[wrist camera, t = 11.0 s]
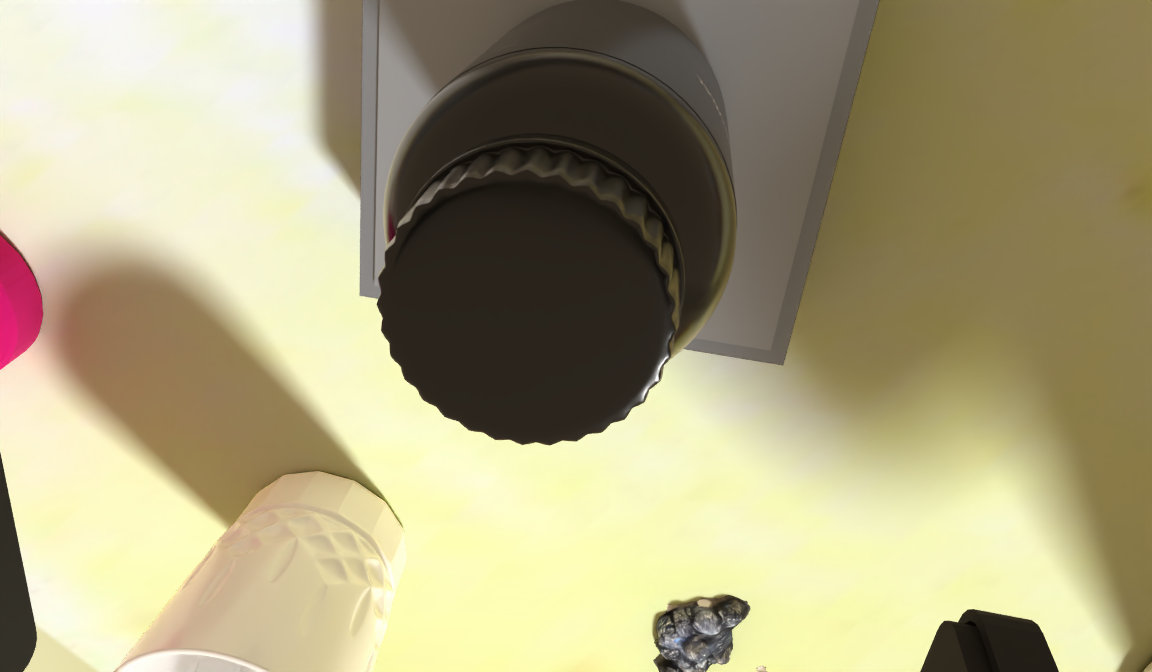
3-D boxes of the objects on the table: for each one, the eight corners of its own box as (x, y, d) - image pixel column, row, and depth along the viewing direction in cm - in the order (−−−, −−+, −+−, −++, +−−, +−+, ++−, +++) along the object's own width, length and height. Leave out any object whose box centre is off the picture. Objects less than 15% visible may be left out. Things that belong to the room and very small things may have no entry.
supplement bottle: (782, 110, 24) (849, 312, 14) (614, 289, 27) (563, 569, 17) (578, -71, 23) (477, -2, 12) (423, 138, 26) (234, 339, 15)
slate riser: (880, -120, 25) (910, -114, 22) (774, 306, 31) (783, 367, 28) (410, -184, 26) (362, -189, 22) (397, 246, 32) (358, 297, 28)
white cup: (268, 425, 36) (129, 611, 28) (451, 510, 37) (373, 717, 28) (216, 558, 40) (78, 759, 31) (383, 632, 41) (295, 848, 32)
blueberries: (821, 595, 38) (828, 626, 36) (735, 727, 41) (737, 761, 40) (670, 534, 38) (670, 563, 36) (594, 673, 41) (591, 705, 39)
